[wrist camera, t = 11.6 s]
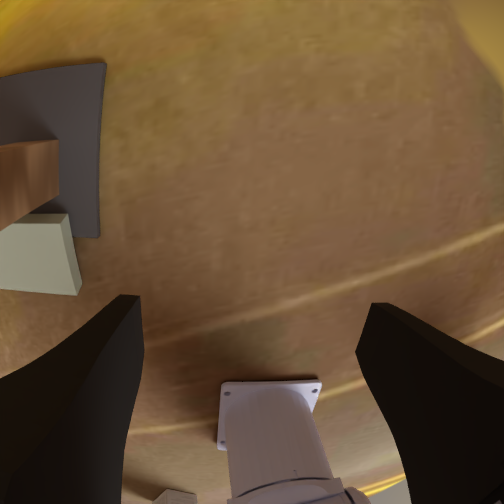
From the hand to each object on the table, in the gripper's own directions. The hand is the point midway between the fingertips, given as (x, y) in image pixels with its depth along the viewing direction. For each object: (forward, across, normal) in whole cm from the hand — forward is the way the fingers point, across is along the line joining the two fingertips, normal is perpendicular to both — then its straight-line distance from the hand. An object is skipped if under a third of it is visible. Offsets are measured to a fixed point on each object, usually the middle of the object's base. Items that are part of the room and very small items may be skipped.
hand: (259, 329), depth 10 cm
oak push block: (+9, +12, -3) cm, 16 cm away
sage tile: (+9, +13, +5) cm, 17 cm away
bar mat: (+10, +12, -4) cm, 16 cm away
